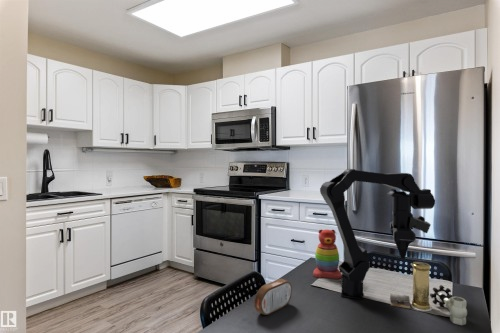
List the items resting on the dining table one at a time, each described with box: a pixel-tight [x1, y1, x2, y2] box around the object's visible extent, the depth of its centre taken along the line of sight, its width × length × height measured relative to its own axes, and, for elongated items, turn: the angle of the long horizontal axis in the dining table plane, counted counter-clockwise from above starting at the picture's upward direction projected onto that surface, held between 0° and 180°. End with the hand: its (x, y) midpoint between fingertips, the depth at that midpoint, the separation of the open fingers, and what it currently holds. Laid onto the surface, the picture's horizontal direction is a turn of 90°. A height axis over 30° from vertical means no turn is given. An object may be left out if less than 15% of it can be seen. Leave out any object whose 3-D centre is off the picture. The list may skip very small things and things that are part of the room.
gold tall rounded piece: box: [411, 261, 431, 310], centre depth 98 cm, size 5×5×13 cm
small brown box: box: [389, 293, 411, 309], centre depth 100 cm, size 5×5×3 cm
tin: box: [253, 278, 293, 316], centre depth 96 cm, size 15×3×8 cm, turn 135°
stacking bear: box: [312, 229, 342, 280], centre depth 126 cm, size 11×10×18 cm
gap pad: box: [409, 301, 433, 312], centre depth 98 cm, size 6×6×1 cm
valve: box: [429, 284, 468, 326], centre depth 93 cm, size 7×7×12 cm
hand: (401, 254), depth 109 cm, fingers open, 9 cm apart
